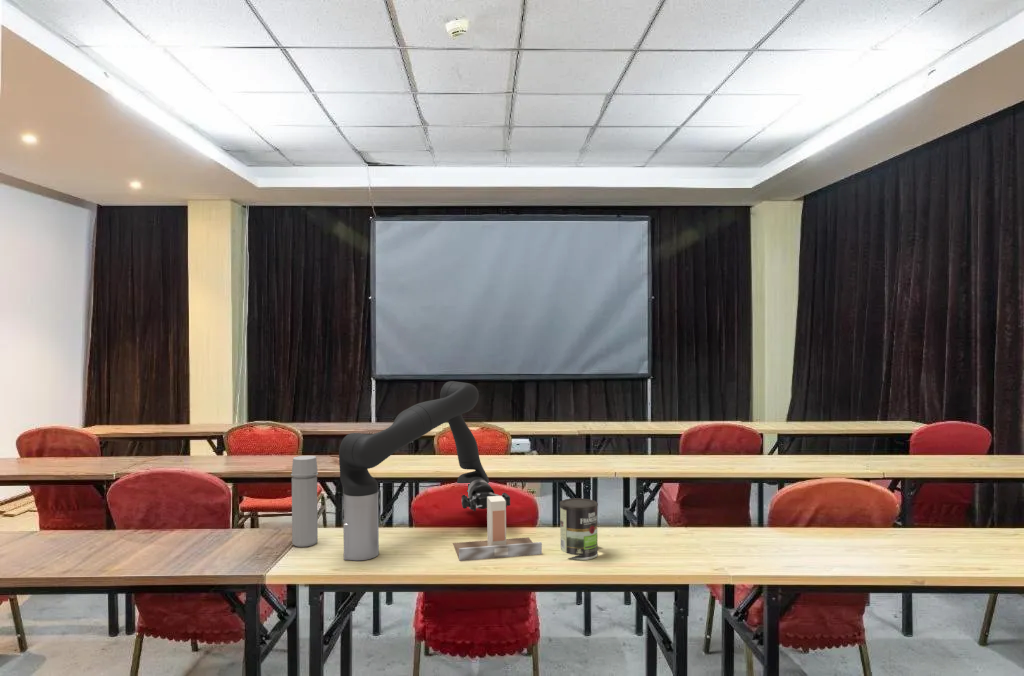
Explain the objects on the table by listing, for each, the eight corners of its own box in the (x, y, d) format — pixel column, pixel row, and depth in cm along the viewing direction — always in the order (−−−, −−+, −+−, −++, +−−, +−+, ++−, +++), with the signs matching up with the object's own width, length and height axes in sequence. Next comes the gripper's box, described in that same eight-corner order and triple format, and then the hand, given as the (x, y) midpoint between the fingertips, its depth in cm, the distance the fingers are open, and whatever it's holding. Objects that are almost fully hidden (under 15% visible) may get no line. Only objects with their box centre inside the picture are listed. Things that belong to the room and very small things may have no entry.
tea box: (491, 554, 173) (491, 502, 173) (487, 547, 179) (487, 496, 179) (506, 553, 174) (505, 501, 174) (501, 546, 180) (501, 495, 180)
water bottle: (314, 548, 185) (313, 460, 185) (287, 548, 185) (286, 460, 185) (324, 538, 194) (323, 454, 194) (298, 538, 194) (297, 454, 194)
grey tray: (459, 567, 169) (459, 549, 169) (452, 548, 184) (452, 532, 184) (542, 560, 173) (541, 543, 173) (528, 542, 188) (528, 526, 188)
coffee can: (606, 554, 177) (605, 502, 177) (579, 563, 170) (578, 509, 170) (578, 545, 185) (578, 496, 185) (552, 553, 178) (551, 502, 178)
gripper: (457, 482, 202) (464, 495, 186) (502, 480, 205) (513, 492, 189) (458, 507, 202) (465, 521, 186) (503, 504, 205) (513, 518, 189)
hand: (489, 506), depth 188 cm, fingers open, 8 cm apart
